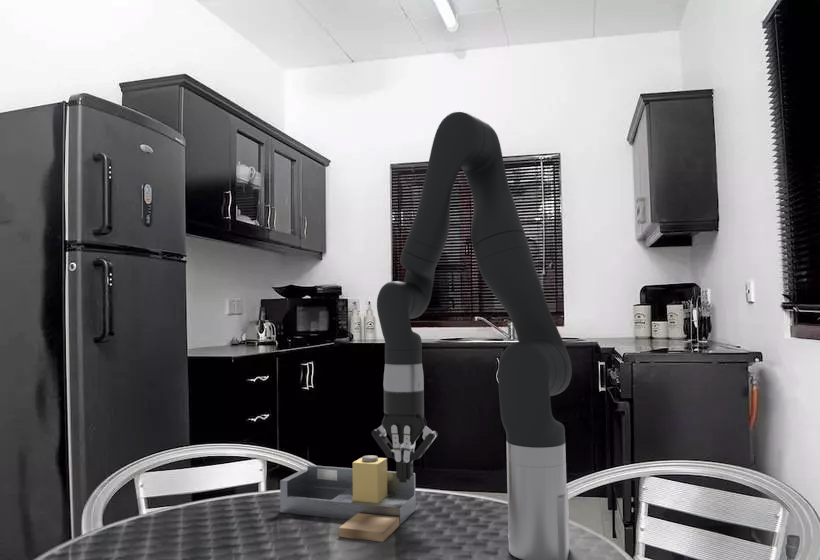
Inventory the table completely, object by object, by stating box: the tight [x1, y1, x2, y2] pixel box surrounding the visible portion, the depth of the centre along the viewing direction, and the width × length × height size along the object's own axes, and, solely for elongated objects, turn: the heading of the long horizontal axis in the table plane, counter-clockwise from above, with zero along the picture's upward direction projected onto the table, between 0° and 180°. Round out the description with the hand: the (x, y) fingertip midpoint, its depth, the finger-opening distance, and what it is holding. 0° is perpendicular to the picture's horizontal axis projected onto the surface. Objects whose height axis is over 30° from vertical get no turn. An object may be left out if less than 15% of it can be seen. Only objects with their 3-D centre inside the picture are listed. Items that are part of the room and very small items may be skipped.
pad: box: [338, 513, 400, 542], centre depth 106 cm, size 8×8×2 cm
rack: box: [279, 464, 417, 526], centre depth 117 cm, size 24×9×7 cm, turn 71°
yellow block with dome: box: [352, 454, 388, 503], centre depth 115 cm, size 5×5×8 cm
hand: (404, 481), depth 113 cm, fingers closed
